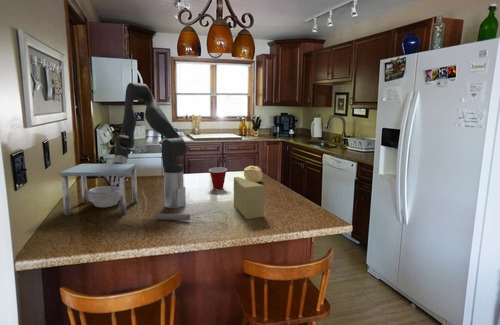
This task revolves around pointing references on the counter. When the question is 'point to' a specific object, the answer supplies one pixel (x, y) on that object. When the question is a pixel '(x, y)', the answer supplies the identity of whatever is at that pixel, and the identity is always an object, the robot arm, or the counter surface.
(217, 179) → the plastic cup
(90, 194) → the paper bowls
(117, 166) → the small side table
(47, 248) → the counter surface
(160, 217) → the kitchen whisk
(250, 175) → the beige textured ball
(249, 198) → the beige rectangular block
